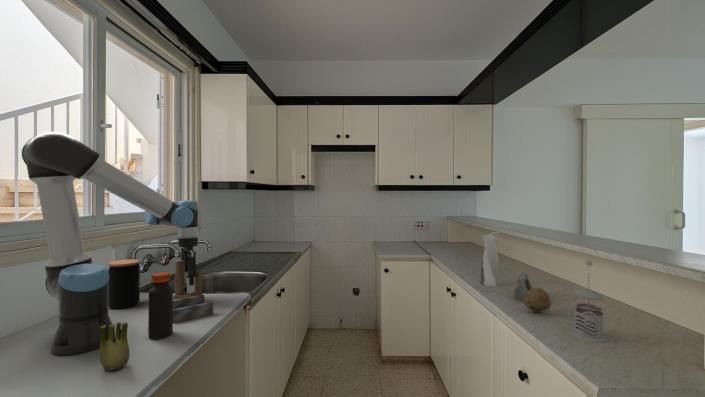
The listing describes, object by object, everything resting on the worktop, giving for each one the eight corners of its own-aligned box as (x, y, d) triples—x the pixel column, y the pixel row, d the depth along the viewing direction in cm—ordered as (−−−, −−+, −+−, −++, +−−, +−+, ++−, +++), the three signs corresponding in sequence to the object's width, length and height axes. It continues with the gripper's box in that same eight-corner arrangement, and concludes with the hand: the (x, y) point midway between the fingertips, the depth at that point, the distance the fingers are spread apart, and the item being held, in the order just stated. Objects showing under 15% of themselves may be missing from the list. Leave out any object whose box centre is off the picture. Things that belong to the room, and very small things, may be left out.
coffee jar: (144, 304, 134) (144, 261, 134) (115, 311, 125) (115, 265, 125) (132, 299, 140) (132, 258, 140) (103, 306, 131) (103, 262, 131)
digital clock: (529, 304, 138) (529, 280, 138) (507, 299, 145) (507, 276, 144) (541, 296, 149) (541, 273, 149) (520, 292, 156) (520, 270, 156)
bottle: (175, 335, 105) (176, 274, 105) (152, 342, 100) (152, 277, 100) (168, 329, 109) (168, 270, 109) (145, 335, 104) (145, 274, 104)
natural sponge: (556, 315, 125) (557, 290, 125) (539, 318, 122) (540, 292, 122) (536, 307, 134) (536, 284, 134) (520, 310, 131) (520, 285, 131)
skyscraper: (496, 283, 172) (497, 231, 172) (500, 287, 164) (501, 233, 164) (479, 282, 173) (480, 231, 173) (483, 286, 165) (483, 232, 165)
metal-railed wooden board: (172, 323, 114) (172, 310, 114) (164, 313, 124) (164, 301, 124) (213, 314, 123) (213, 302, 123) (203, 305, 133) (203, 294, 133)
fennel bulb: (97, 373, 82) (97, 326, 82) (111, 363, 87) (111, 319, 87) (119, 373, 82) (119, 326, 82) (132, 363, 87) (132, 319, 87)
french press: (598, 345, 100) (600, 265, 100) (558, 331, 110) (559, 259, 110) (612, 338, 105) (613, 262, 105) (572, 325, 115) (573, 256, 115)
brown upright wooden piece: (198, 304, 135) (199, 261, 135) (172, 304, 134) (172, 261, 134) (202, 301, 139) (202, 259, 138) (177, 301, 138) (177, 259, 138)
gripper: (205, 238, 130) (205, 294, 131) (191, 233, 147) (190, 282, 147) (184, 240, 126) (184, 297, 126) (172, 234, 142) (172, 285, 142)
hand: (188, 289), depth 136 cm, fingers open, 9 cm apart
